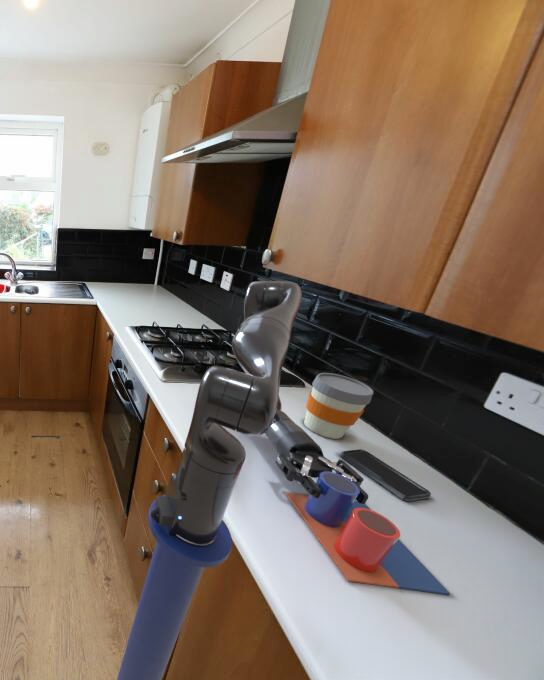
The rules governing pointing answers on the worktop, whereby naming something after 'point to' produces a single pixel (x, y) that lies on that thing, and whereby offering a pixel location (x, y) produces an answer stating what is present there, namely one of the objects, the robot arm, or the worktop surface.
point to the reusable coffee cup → (335, 404)
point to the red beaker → (366, 539)
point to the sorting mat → (393, 571)
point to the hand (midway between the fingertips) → (341, 497)
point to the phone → (385, 475)
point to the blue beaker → (332, 499)
